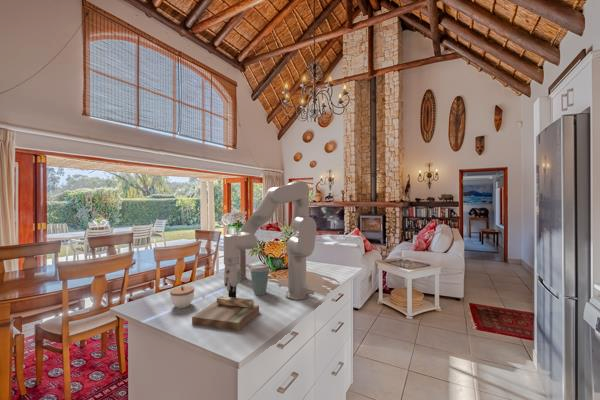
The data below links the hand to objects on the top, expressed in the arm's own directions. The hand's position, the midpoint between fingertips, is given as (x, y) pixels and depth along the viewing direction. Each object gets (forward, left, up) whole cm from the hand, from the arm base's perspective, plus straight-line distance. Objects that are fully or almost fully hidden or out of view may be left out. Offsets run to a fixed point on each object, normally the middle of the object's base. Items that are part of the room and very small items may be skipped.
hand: (232, 299), depth 129 cm
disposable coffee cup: (-4, -22, -4) cm, 23 cm away
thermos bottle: (+20, -43, -4) cm, 48 cm away
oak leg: (-4, +4, -1) cm, 5 cm away
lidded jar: (+25, +4, -4) cm, 26 cm away
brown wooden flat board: (-3, +10, -4) cm, 11 cm away
